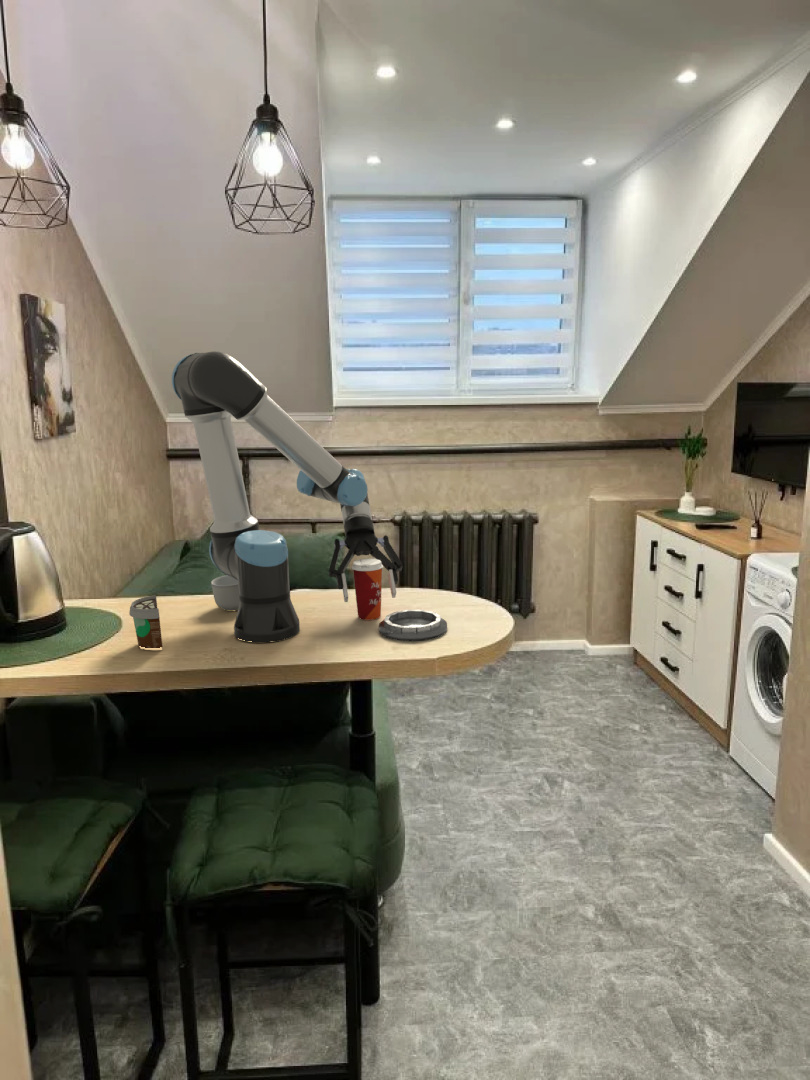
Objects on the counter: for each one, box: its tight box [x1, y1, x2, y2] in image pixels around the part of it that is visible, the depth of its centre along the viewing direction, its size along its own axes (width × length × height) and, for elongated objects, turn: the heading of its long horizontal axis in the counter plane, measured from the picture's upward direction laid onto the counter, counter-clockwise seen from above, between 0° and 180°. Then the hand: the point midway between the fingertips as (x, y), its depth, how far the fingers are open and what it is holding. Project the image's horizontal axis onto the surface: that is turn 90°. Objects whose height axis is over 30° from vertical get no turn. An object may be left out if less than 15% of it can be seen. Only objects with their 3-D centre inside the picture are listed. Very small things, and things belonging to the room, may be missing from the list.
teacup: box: [210, 574, 240, 611], centre depth 197 cm, size 14×11×8 cm
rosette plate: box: [378, 609, 448, 642], centre depth 176 cm, size 16×16×3 cm
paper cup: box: [351, 558, 384, 621], centre depth 185 cm, size 8×8×14 cm
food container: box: [128, 594, 163, 648], centre depth 170 cm, size 12×6×10 cm, turn 21°
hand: (370, 597), depth 183 cm, fingers open, 11 cm apart
